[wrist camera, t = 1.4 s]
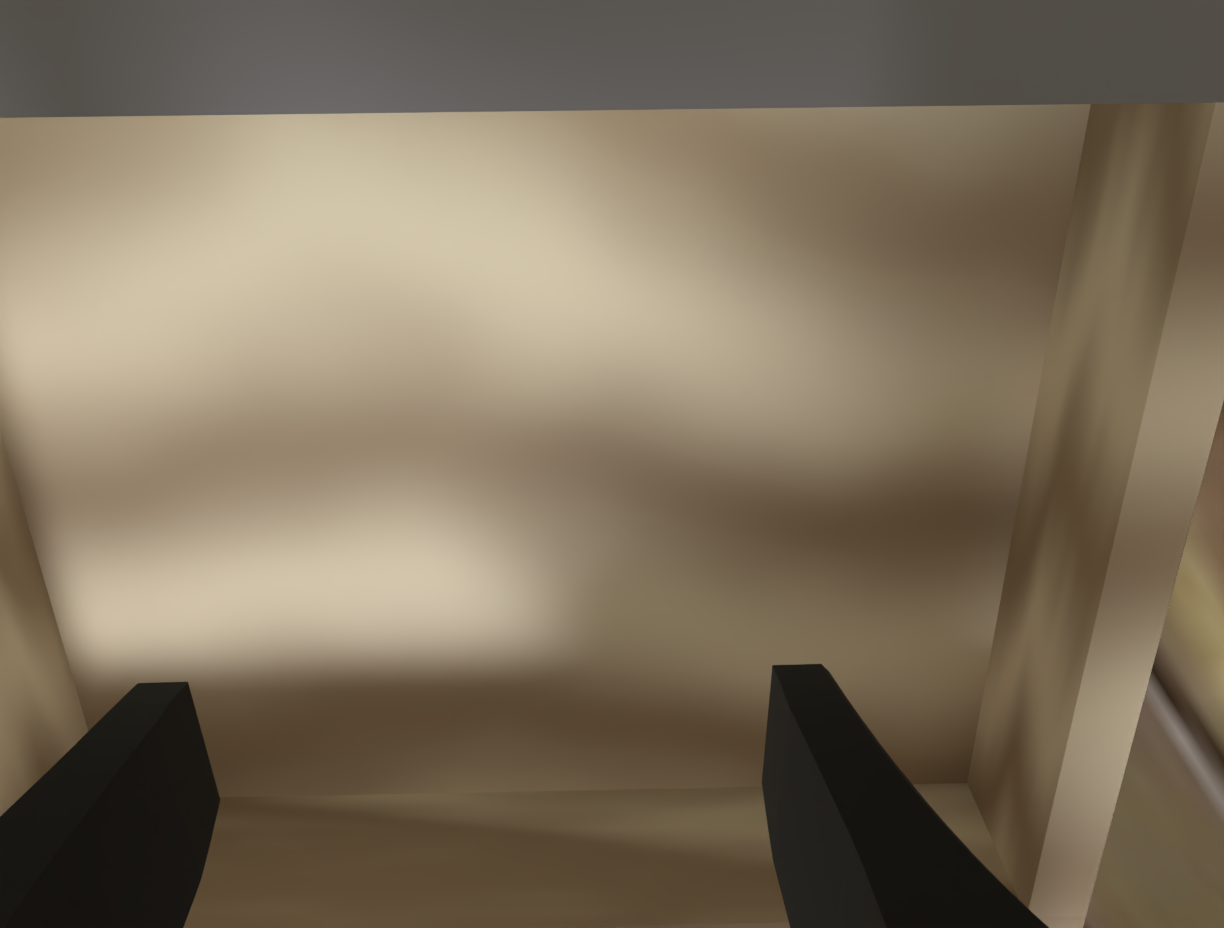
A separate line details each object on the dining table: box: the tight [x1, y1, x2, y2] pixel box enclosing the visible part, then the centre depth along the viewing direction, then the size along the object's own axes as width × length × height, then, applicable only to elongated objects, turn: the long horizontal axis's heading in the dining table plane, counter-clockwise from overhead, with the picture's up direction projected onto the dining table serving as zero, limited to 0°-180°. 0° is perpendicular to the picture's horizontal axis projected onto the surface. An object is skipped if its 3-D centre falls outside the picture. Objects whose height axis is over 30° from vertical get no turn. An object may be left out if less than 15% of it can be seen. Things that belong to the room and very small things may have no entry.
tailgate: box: [0, 0, 1224, 118], centre depth 14 cm, size 1×19×7 cm, turn 90°
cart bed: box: [0, 102, 1224, 928], centre depth 20 cm, size 17×22×5 cm
